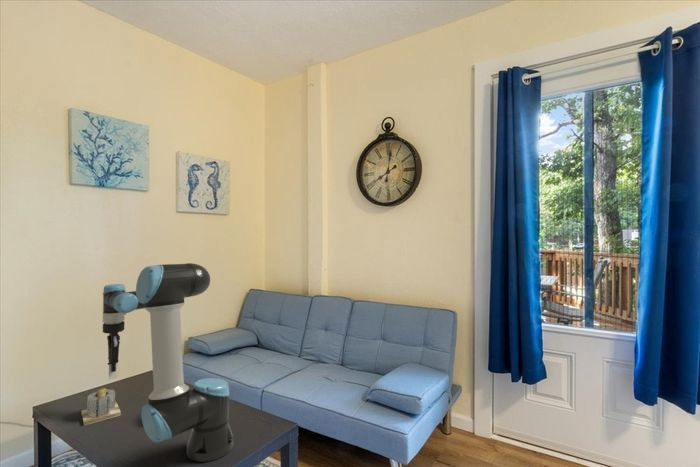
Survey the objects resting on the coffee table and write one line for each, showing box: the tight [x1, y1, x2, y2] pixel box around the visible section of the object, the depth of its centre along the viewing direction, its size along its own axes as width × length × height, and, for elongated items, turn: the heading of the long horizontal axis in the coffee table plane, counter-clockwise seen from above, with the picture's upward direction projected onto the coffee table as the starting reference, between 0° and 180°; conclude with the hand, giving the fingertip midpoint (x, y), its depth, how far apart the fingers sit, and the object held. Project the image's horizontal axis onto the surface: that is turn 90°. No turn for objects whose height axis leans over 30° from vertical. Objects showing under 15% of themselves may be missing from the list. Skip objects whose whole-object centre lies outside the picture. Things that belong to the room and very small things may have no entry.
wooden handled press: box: [80, 387, 122, 427], centre depth 143 cm, size 12×12×10 cm
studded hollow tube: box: [86, 388, 116, 417], centre depth 143 cm, size 9×9×7 cm
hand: (112, 378), depth 145 cm, fingers closed
